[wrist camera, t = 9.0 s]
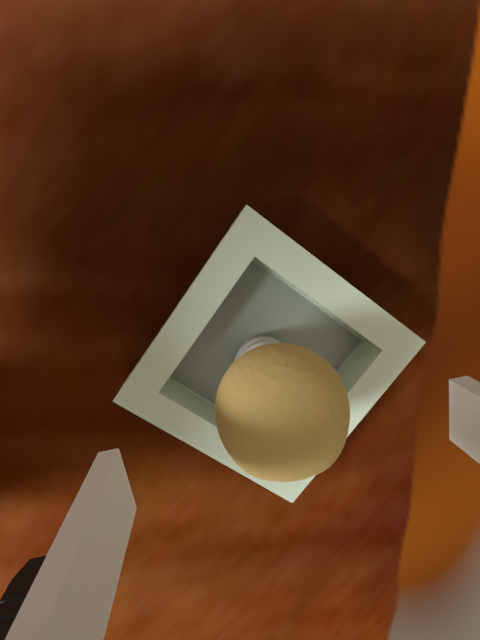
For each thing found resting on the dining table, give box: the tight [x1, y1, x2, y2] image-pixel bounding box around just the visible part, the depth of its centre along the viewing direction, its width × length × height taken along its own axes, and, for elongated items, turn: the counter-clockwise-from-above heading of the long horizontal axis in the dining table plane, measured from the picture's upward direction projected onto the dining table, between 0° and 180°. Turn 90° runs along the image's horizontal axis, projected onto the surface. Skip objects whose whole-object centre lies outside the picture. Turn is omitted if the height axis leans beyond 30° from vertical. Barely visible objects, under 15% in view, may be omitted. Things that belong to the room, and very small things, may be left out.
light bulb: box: [215, 336, 350, 482], centre depth 18 cm, size 6×6×10 cm
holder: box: [112, 205, 426, 503], centre depth 22 cm, size 14×14×4 cm
